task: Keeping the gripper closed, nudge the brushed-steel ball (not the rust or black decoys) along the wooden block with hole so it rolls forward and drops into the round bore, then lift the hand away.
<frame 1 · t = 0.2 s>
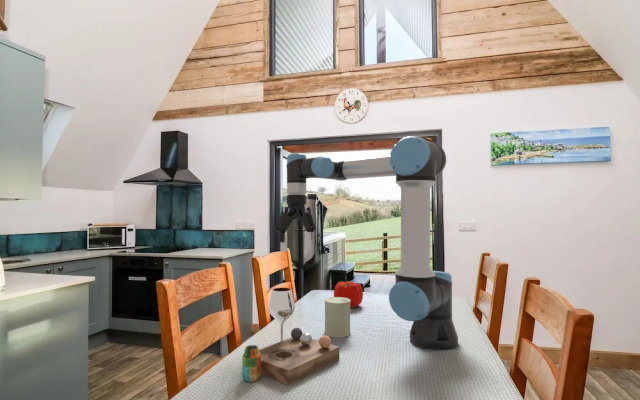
hand: (296, 249, 144), 28 cm above the table, fingers open, 13 cm apart
steel ball: (305, 339, 109), point 5 cm above the table, touching wooden block with hole
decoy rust: (325, 341, 107), point 5 cm above the table, touching wooden block with hole
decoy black: (296, 333, 114), point 5 cm above the table, touching wooden block with hole
wooden block with hole: (294, 363, 105), on the table
can: (337, 333, 131), on the table
jar: (251, 380, 95), on the table
red bell pepper: (348, 306, 169), on the table
wineglass: (281, 348, 118), on the table
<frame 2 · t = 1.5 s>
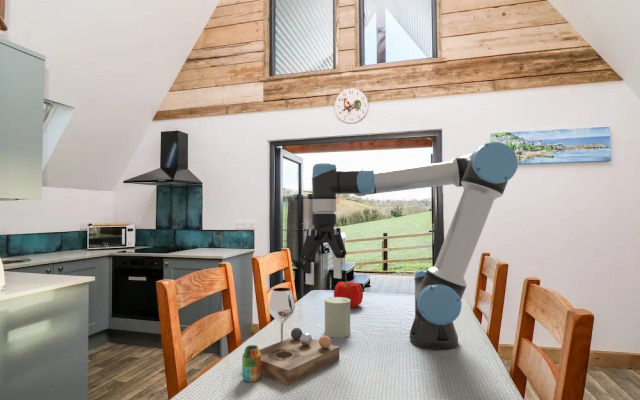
hand: (324, 281, 117), 21 cm above the table, fingers open, 13 cm apart
nothing on the table moved.
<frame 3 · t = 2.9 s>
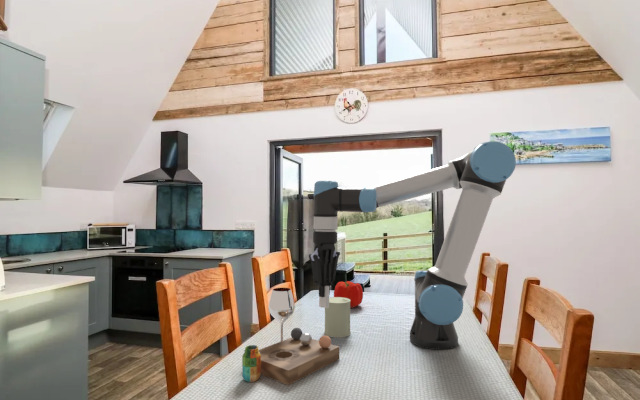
hand: (324, 306, 116), 13 cm above the table, fingers closed
nothing on the table moved.
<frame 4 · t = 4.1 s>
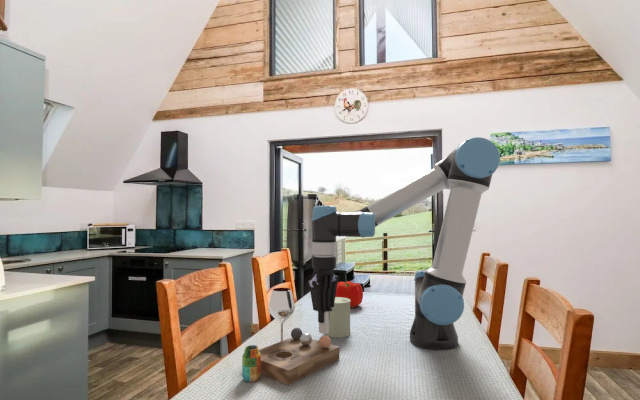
hand: (323, 332, 116), 5 cm above the table, fingers closed
nothing on the table moved.
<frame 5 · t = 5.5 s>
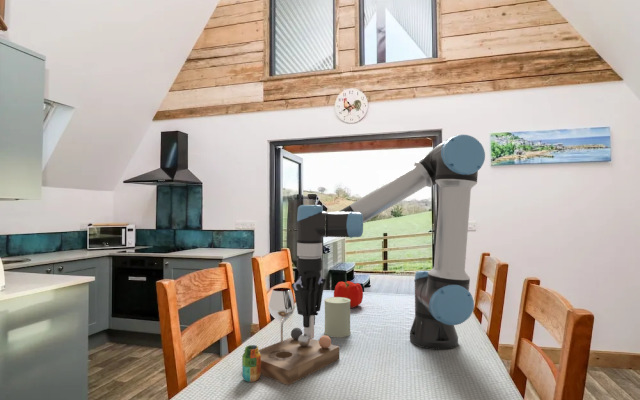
hand: (308, 337, 111), 5 cm above the table, fingers closed
steel ball: (304, 340, 109), point 5 cm above the table, tilted 24°, touching gripper, wooden block with hole
everything else where it was.
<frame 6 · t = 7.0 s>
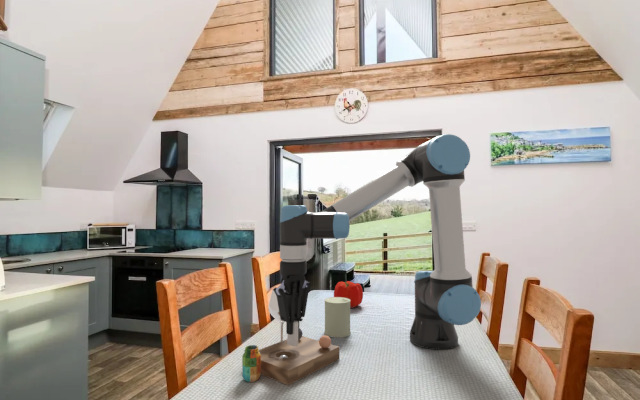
hand: (292, 344, 105), 5 cm above the table, fingers closed
steel ball: (283, 361, 102), point 2 cm above the table, tilted 21°
everything else where it was.
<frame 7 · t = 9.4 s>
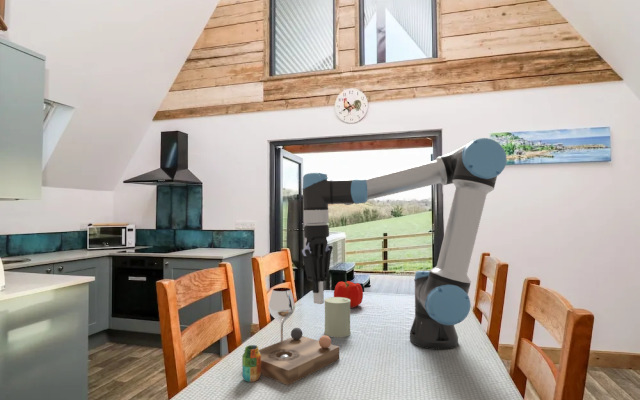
hand: (318, 303, 113), 15 cm above the table, fingers closed
steel ball: (284, 361, 102), point 2 cm above the table, tilted 35°
everything else where it was.
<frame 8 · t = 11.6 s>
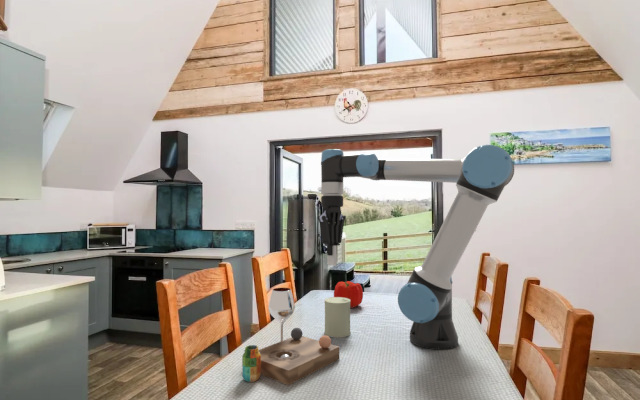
hand: (332, 264, 128), 24 cm above the table, fingers closed
steel ball: (285, 361, 102), point 2 cm above the table, tilted 41°
everything else where it was.
at the end: steel ball 0.5 cm from the target spot in the wooden block with hole, point 1.7 cm above the wooden block with hole's base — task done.
